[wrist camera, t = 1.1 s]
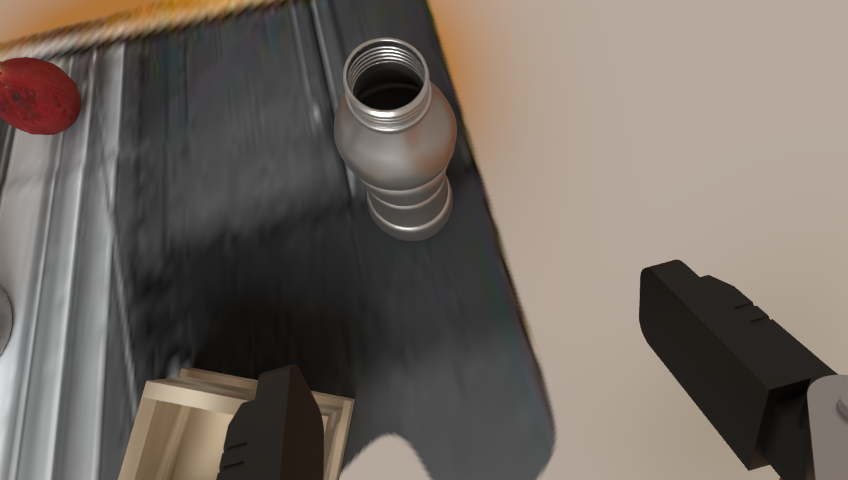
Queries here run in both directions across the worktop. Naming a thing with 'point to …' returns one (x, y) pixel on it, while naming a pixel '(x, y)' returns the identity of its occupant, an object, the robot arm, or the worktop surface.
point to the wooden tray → (209, 426)
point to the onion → (37, 96)
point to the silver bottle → (397, 137)
